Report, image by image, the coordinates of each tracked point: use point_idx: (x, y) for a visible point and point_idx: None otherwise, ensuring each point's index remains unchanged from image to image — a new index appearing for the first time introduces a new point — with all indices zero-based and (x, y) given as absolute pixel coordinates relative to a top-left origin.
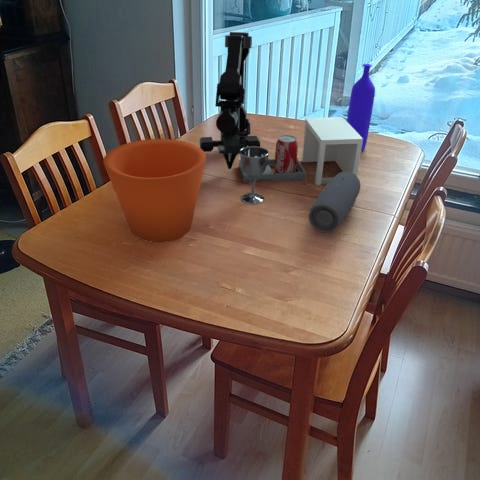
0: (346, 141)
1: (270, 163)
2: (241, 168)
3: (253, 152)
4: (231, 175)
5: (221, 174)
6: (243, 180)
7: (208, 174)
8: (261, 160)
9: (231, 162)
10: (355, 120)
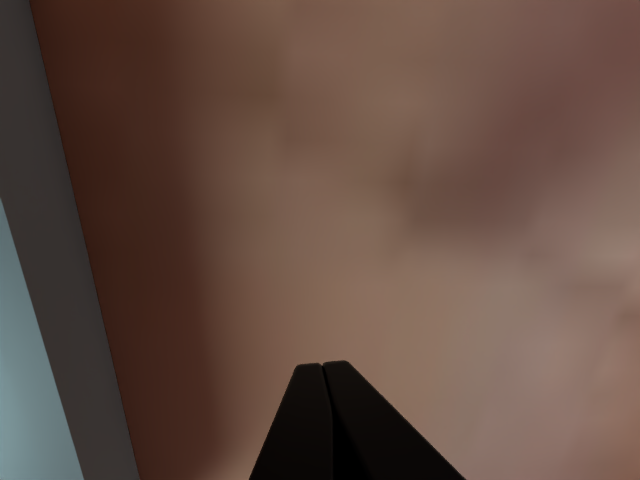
0: None
1: None
2: (81, 411)
3: None
4: (276, 290)
5: (427, 321)
6: (47, 82)
7: (610, 320)
8: None
9: (304, 469)
10: None
